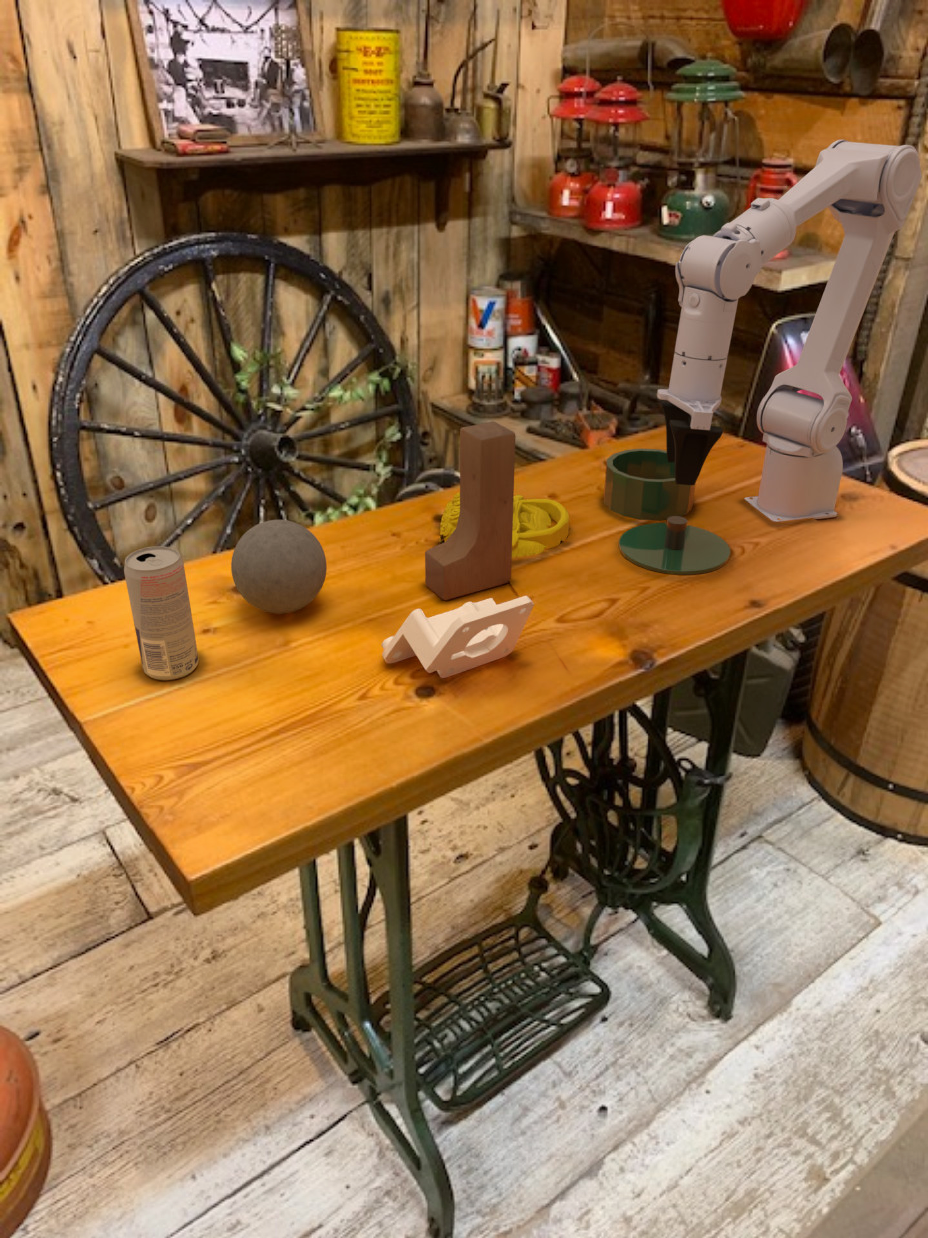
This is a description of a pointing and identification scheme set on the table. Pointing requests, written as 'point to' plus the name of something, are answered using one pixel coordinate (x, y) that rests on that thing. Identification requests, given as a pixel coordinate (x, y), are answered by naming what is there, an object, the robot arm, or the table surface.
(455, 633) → the mounting bracket
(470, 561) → the wooden block
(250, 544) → the decorative ball
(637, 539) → the lid
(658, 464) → the pot
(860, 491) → the table surface
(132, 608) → the energy drink
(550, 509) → the door knocker
